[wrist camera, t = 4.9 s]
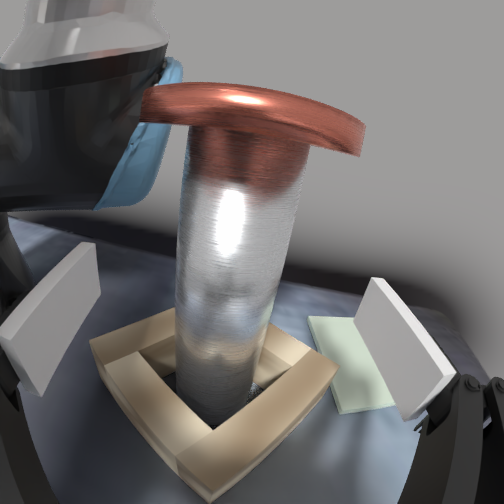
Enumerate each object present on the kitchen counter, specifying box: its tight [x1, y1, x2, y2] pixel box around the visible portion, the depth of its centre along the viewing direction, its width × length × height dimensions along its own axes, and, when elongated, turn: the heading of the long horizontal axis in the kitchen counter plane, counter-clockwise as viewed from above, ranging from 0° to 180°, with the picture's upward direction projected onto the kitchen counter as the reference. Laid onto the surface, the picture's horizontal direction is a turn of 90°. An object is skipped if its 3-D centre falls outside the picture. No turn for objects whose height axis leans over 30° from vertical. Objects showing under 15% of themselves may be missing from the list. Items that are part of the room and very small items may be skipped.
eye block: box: [89, 307, 340, 504], centre depth 17 cm, size 12×12×4 cm
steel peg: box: [139, 82, 366, 426], centre depth 14 cm, size 9×9×18 cm
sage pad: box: [307, 316, 396, 415], centre depth 23 cm, size 12×12×1 cm
